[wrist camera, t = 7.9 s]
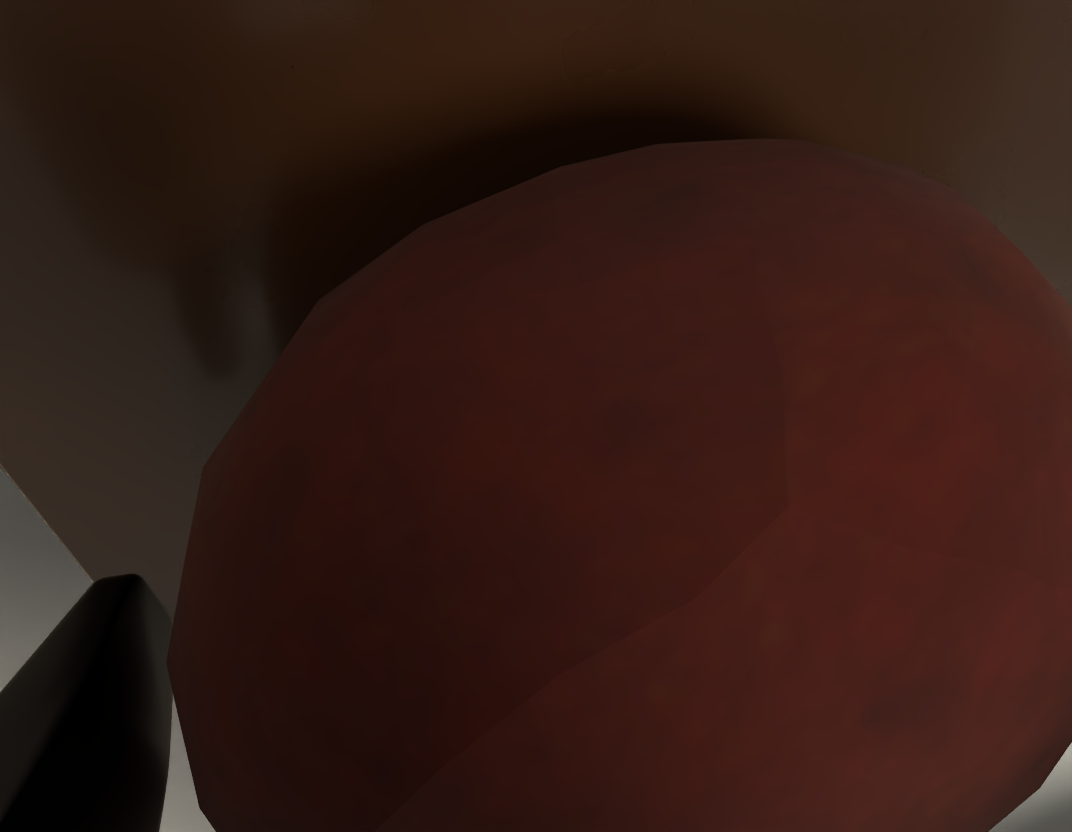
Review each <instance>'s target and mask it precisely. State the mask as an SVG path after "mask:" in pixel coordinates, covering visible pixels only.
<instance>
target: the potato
mask: <svg viewBox="0 0 1072 832" xmlns="http://www.w3.org/2000/svg"><path fill="white" fill-rule="evenodd" d="M166 665H167V669H168V674H169V678H170V682H171V687H172V691H173V695H174V700H175V704H176V708H177V713H178V717H179V721H180V726H181V730H182V734H183V739H184V743H185V747H186V751H187V756H188V760H189V764H190V769H191V773H192V777H193V782H194V786H195V790H196V795H197V799H198V803H199V808H200V810H201V811H202V812H203V814H204V815H205V817H206V818H207V820H208V821H209V822H210V824H211V825H212V827H213V828H214V829H215V831H216V832H988V831H989V830H991V829H992V828H993V827H994V826H995V825H996V824H998V823H999V822H1000V821H1001V820H1002V819H1004V818H1005V817H1006V816H1007V815H1008V814H1010V813H1011V812H1012V811H1013V810H1014V809H1016V808H1017V807H1018V806H1019V805H1020V804H1021V803H1023V802H1024V801H1025V800H1026V799H1027V798H1029V797H1030V796H1031V795H1032V794H1033V793H1035V792H1036V791H1037V790H1038V789H1039V788H1040V787H1041V785H1042V784H1043V783H1044V781H1045V780H1046V778H1047V777H1048V775H1049V774H1050V773H1051V771H1052V770H1053V768H1054V767H1055V765H1056V764H1057V762H1058V761H1059V760H1060V758H1061V757H1062V755H1063V754H1064V752H1065V751H1066V750H1067V748H1068V747H1069V745H1070V744H1071V742H1072V307H1071V306H1070V305H1069V304H1068V303H1067V301H1066V300H1065V299H1064V298H1063V297H1062V296H1061V295H1060V294H1059V293H1058V291H1057V290H1056V289H1055V288H1054V287H1053V286H1052V285H1051V284H1050V283H1049V281H1048V280H1047V279H1046V278H1045V277H1044V276H1043V275H1042V274H1041V273H1040V271H1039V270H1038V269H1037V268H1036V267H1035V266H1034V265H1033V264H1032V262H1031V261H1030V260H1029V259H1028V258H1027V257H1026V256H1025V255H1024V254H1023V252H1022V251H1021V250H1020V249H1019V248H1018V247H1017V246H1015V245H1014V244H1013V243H1012V242H1011V241H1010V240H1009V239H1008V238H1007V237H1006V236H1005V235H1004V234H1003V233H1002V232H1001V231H1000V230H998V229H997V228H996V227H995V226H994V225H993V224H992V223H991V222H990V221H989V220H988V219H987V218H986V217H985V216H984V215H983V214H981V213H980V212H979V211H978V210H977V209H976V208H975V207H974V206H973V205H972V204H971V203H970V202H969V201H968V200H967V199H966V198H965V197H963V196H962V195H961V194H960V193H959V192H958V191H956V190H954V189H952V188H950V187H948V186H946V185H944V184H942V183H940V182H937V181H935V180H933V179H931V178H929V177H927V176H925V175H923V174H921V173H919V172H917V171H915V170H913V169H911V168H909V167H907V166H905V165H903V164H899V163H895V162H891V161H887V160H882V159H878V158H874V157H870V156H866V155H862V154H858V153H854V152H850V151H846V150H842V149H838V148H834V147H829V146H825V145H821V144H817V143H813V142H809V141H805V140H794V139H768V138H756V139H738V140H720V141H701V142H683V143H664V144H654V145H650V146H646V147H642V148H637V149H633V150H629V151H625V152H620V153H616V154H612V155H608V156H603V157H599V158H595V159H591V160H586V161H582V162H578V163H574V164H570V165H565V166H561V167H558V168H556V169H554V170H551V171H549V172H547V173H544V174H542V175H539V176H537V177H535V178H532V179H530V180H528V181H525V182H523V183H520V184H518V185H516V186H513V187H511V188H509V189H506V190H504V191H501V192H499V193H497V194H494V195H492V196H490V197H487V198H485V199H482V200H480V201H478V202H475V203H473V204H471V205H468V206H466V207H463V208H461V209H459V210H456V211H454V212H452V213H449V214H447V215H444V216H442V217H440V218H437V219H435V220H433V221H430V222H428V223H425V224H423V225H422V226H420V227H419V228H417V229H416V230H415V231H413V232H412V233H411V234H409V235H408V236H406V237H405V238H404V239H402V240H401V241H399V242H398V243H397V244H395V245H394V246H393V247H391V248H390V249H388V250H387V251H386V252H384V253H383V254H382V255H380V256H379V257H377V258H376V259H375V260H373V261H372V262H371V263H369V264H368V265H366V266H365V267H364V268H362V269H361V270H360V271H358V272H357V273H355V274H354V275H353V276H351V277H350V278H348V279H347V280H346V281H344V282H343V283H342V284H340V285H339V286H337V287H336V288H335V289H333V290H332V291H331V292H329V293H328V294H326V295H325V296H324V297H322V298H321V299H320V300H318V302H317V303H316V304H315V306H314V307H313V309H312V310H311V312H310V313H309V315H308V316H307V317H306V319H305V320H304V322H303V323H302V325H301V326H300V327H299V329H298V330H297V332H296V333H295V335H294V336H293V338H292V339H291V340H290V342H289V343H288V345H287V346H286V348H285V349H284V350H283V352H282V353H281V355H280V356H279V358H278V359H277V361H276V362H275V363H274V365H273V366H272V368H271V369H270V371H269V372H268V374H267V375H266V376H265V378H264V379H263V381H262V382H261V384H260V385H259V387H258V388H257V389H256V391H255V392H254V394H253V395H252V397H251V398H250V400H249V401H248V403H247V404H246V405H245V407H244V408H243V410H242V411H241V413H240V414H239V416H238V417H237V418H236V420H235V421H234V423H233V424H232V426H231V427H230V429H229V430H228V431H227V433H226V434H225V436H224V437H223V439H222V440H221V442H220V443H219V444H218V446H217V447H216V449H215V450H214V452H213V453H212V455H211V456H210V457H209V459H208V460H207V462H206V463H205V465H204V466H203V470H202V475H201V480H200V485H199V490H198V495H197V500H196V505H195V510H194V515H193V520H192V525H191V530H190V535H189V540H188V545H187V550H186V555H185V560H184V566H183V571H182V577H181V582H180V588H179V593H178V599H177V604H176V610H175V615H174V621H173V627H172V632H171V638H170V643H169V649H168V654H167V660H166Z"/></svg>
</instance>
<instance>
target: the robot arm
mask: <svg viewBox="0 0 1072 832" xmlns="http://www.w3.org/2000/svg"><path fill="white" fill-rule="evenodd" d="M172 627H173V620H172V618H171V616H170V614H169V612H168V611H167V610H166V608H165V607H164V606H163V604H162V603H161V601H160V600H159V599H158V597H157V596H156V595H155V593H154V592H153V590H152V589H151V588H150V586H149V585H148V584H147V582H146V581H145V580H144V579H143V577H141V576H139V575H137V574H133V573H130V574H124V575H117V576H110V577H105V578H101V579H99V580H97V581H96V582H94V583H93V584H92V585H91V586H90V587H89V588H88V589H87V591H86V592H85V593H84V594H83V595H82V597H81V598H80V599H79V600H78V601H77V602H76V604H75V605H74V606H73V607H72V608H71V610H70V611H69V612H68V613H67V614H66V615H65V617H64V618H63V619H62V620H61V621H60V623H59V624H58V625H57V626H56V627H55V628H54V630H53V631H52V632H51V633H50V634H49V635H48V637H47V638H46V639H45V640H44V641H43V643H42V644H41V645H40V646H39V647H38V648H37V650H36V651H35V652H34V653H33V654H32V656H31V657H30V658H29V659H28V660H27V661H26V663H25V664H24V665H23V666H22V667H21V669H20V670H19V671H18V672H17V673H16V674H15V676H14V677H13V678H12V679H11V680H10V682H9V683H8V684H7V685H6V686H5V687H4V689H3V690H2V691H1V692H0V832H159V829H160V823H161V817H162V811H163V805H164V799H165V792H166V785H167V778H168V769H169V756H170V739H171V720H172V700H173V691H172V687H171V682H170V678H169V674H168V669H167V665H166V660H167V654H168V649H169V643H170V638H171V632H172Z"/></svg>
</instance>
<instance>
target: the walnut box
mask: <svg viewBox="0 0 1072 832" xmlns="http://www.w3.org/2000/svg"><path fill="white" fill-rule="evenodd" d="M756 138H768V139H794V140H805V141H809V142H813V143H817V144H821V145H825V146H829V147H834V148H838V149H842V150H846V151H850V152H854V153H858V154H862V155H866V156H870V157H874V158H878V159H882V160H887V161H891V162H895V163H899V164H903V165H905V166H907V167H909V168H911V169H913V170H915V171H917V172H919V173H921V174H923V175H925V176H927V177H929V178H931V179H933V180H935V181H937V182H940V183H942V184H944V185H946V186H948V187H950V188H952V189H954V190H956V191H958V192H959V193H960V194H961V195H962V196H963V197H965V198H966V199H967V200H968V201H969V202H970V203H971V204H972V205H973V206H974V207H975V208H976V209H977V210H978V211H979V212H980V213H981V214H983V215H984V216H985V217H986V218H987V219H988V220H989V221H990V222H991V223H992V224H993V225H994V226H995V227H996V228H997V229H998V230H1000V231H1001V232H1002V233H1003V234H1004V235H1005V236H1006V237H1007V238H1008V239H1009V240H1010V241H1011V242H1012V243H1013V244H1014V245H1015V246H1017V247H1018V248H1019V249H1020V250H1021V251H1022V252H1023V254H1024V255H1025V256H1026V257H1027V258H1028V259H1029V260H1030V261H1031V262H1032V264H1033V265H1034V266H1035V267H1036V268H1037V269H1038V270H1039V271H1040V273H1041V274H1042V275H1043V276H1044V277H1045V278H1046V279H1047V280H1048V281H1049V283H1050V284H1051V285H1052V286H1053V287H1054V288H1055V289H1056V290H1057V291H1058V293H1059V294H1060V295H1061V296H1062V297H1063V298H1064V299H1065V300H1066V301H1067V303H1068V304H1069V305H1070V306H1071V307H1072V0H0V467H1V468H2V469H3V470H4V472H5V473H6V474H7V475H8V477H9V478H10V479H11V480H12V482H13V483H14V484H15V485H16V487H17V488H18V489H19V490H20V492H21V493H22V494H23V495H24V497H25V498H26V499H27V500H28V502H29V503H30V504H31V505H32V507H33V508H34V509H35V511H36V512H37V513H38V514H39V516H40V517H41V518H42V519H43V521H44V522H45V523H46V524H47V526H48V527H49V528H50V529H51V531H52V532H53V533H54V534H55V536H56V537H57V538H58V539H59V541H60V542H61V543H62V544H63V546H64V547H65V548H66V549H67V551H68V552H69V553H70V554H71V556H72V557H73V558H74V559H75V561H76V562H77V563H78V564H79V566H80V567H81V568H82V570H83V571H84V572H85V573H86V575H87V576H88V577H89V578H90V580H91V581H92V582H93V583H94V582H96V581H97V580H99V579H101V578H105V577H110V576H117V575H124V574H130V573H133V574H137V575H139V576H141V577H143V579H144V580H145V581H146V582H147V584H148V585H149V586H150V588H151V589H152V590H153V592H154V593H155V595H156V596H157V597H158V599H159V600H160V601H161V603H162V604H163V606H164V607H165V608H166V610H167V611H168V612H169V614H170V616H171V618H172V620H173V621H174V615H175V610H176V604H177V599H178V593H179V588H180V582H181V577H182V571H183V566H184V560H185V555H186V550H187V545H188V540H189V535H190V530H191V525H192V520H193V515H194V510H195V505H196V500H197V495H198V490H199V485H200V480H201V475H202V470H203V466H204V465H205V463H206V462H207V460H208V459H209V457H210V456H211V455H212V453H213V452H214V450H215V449H216V447H217V446H218V444H219V443H220V442H221V440H222V439H223V437H224V436H225V434H226V433H227V431H228V430H229V429H230V427H231V426H232V424H233V423H234V421H235V420H236V418H237V417H238V416H239V414H240V413H241V411H242V410H243V408H244V407H245V405H246V404H247V403H248V401H249V400H250V398H251V397H252V395H253V394H254V392H255V391H256V389H257V388H258V387H259V385H260V384H261V382H262V381H263V379H264V378H265V376H266V375H267V374H268V372H269V371H270V369H271V368H272V366H273V365H274V363H275V362H276V361H277V359H278V358H279V356H280V355H281V353H282V352H283V350H284V349H285V348H286V346H287V345H288V343H289V342H290V340H291V339H292V338H293V336H294V335H295V333H296V332H297V330H298V329H299V327H300V326H301V325H302V323H303V322H304V320H305V319H306V317H307V316H308V315H309V313H310V312H311V310H312V309H313V307H314V306H315V304H316V303H317V302H318V300H320V299H321V298H322V297H324V296H325V295H326V294H328V293H329V292H331V291H332V290H333V289H335V288H336V287H337V286H339V285H340V284H342V283H343V282H344V281H346V280H347V279H348V278H350V277H351V276H353V275H354V274H355V273H357V272H358V271H360V270H361V269H362V268H364V267H365V266H366V265H368V264H369V263H371V262H372V261H373V260H375V259H376V258H377V257H379V256H380V255H382V254H383V253H384V252H386V251H387V250H388V249H390V248H391V247H393V246H394V245H395V244H397V243H398V242H399V241H401V240H402V239H404V238H405V237H406V236H408V235H409V234H411V233H412V232H413V231H415V230H416V229H417V228H419V227H420V226H422V225H423V224H425V223H428V222H430V221H433V220H435V219H437V218H440V217H442V216H444V215H447V214H449V213H452V212H454V211H456V210H459V209H461V208H463V207H466V206H468V205H471V204H473V203H475V202H478V201H480V200H482V199H485V198H487V197H490V196H492V195H494V194H497V193H499V192H501V191H504V190H506V189H509V188H511V187H513V186H516V185H518V184H520V183H523V182H525V181H528V180H530V179H532V178H535V177H537V176H539V175H542V174H544V173H547V172H549V171H551V170H554V169H556V168H558V167H561V166H565V165H570V164H574V163H578V162H582V161H586V160H591V159H595V158H599V157H603V156H608V155H612V154H616V153H620V152H625V151H629V150H633V149H637V148H642V147H646V146H650V145H654V144H664V143H683V142H701V141H720V140H738V139H756Z"/></svg>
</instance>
